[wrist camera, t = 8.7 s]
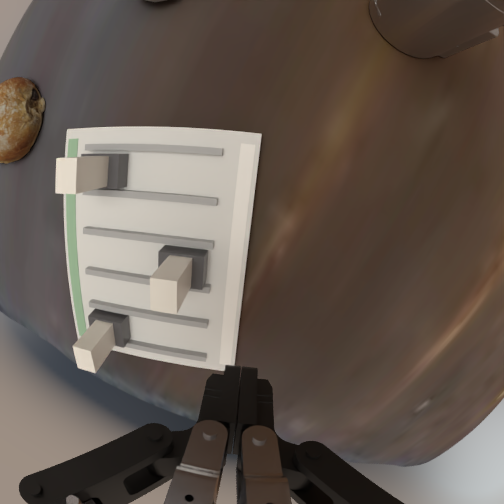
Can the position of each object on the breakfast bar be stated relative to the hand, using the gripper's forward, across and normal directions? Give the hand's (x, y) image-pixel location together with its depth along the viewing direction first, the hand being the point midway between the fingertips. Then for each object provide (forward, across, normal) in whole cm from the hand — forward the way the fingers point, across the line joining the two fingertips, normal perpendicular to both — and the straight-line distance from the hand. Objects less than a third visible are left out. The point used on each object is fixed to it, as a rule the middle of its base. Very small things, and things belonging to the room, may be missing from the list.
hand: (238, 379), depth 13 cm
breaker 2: (+15, +14, +8) cm, 22 cm away
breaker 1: (+14, +14, -8) cm, 22 cm away
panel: (+16, +10, 0) cm, 19 cm away
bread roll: (+16, +29, -13) cm, 36 cm away
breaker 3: (+14, +6, 0) cm, 16 cm away
